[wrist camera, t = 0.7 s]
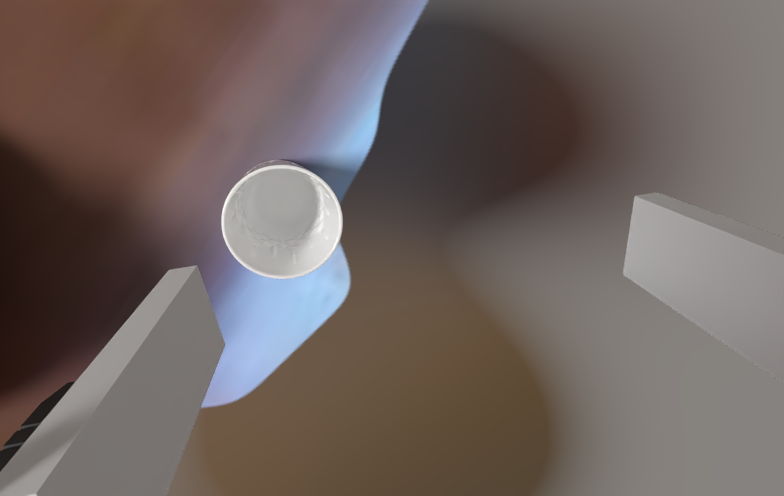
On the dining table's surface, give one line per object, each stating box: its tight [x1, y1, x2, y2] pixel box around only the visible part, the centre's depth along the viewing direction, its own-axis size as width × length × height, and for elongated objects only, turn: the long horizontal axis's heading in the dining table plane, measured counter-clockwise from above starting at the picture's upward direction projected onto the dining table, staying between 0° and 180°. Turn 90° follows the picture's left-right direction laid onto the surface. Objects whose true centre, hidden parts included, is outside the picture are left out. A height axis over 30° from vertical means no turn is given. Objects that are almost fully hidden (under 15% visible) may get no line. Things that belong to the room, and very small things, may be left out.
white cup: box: [221, 159, 343, 279], centre depth 31 cm, size 8×8×10 cm
